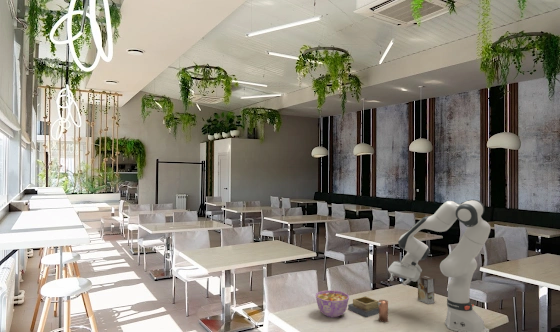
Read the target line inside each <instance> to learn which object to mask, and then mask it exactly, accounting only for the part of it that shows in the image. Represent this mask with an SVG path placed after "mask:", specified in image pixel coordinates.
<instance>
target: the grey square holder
mask: <svg viewBox="0 0 560 332" xmlns="http://www.w3.org/2000/svg"><path fill="white" fill-rule="evenodd" d="M377 303H379V300H376V299H374V298H371V297H369V296H361V297H356V298H354V299H352V303H350V304H349V303H348V304H347V307H348V310H349V311H351V312H353V313H356V314H357V315H359V316H362V317H365V318H369V317H371V316H375V315H379V305H378V304H377Z"/></svg>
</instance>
